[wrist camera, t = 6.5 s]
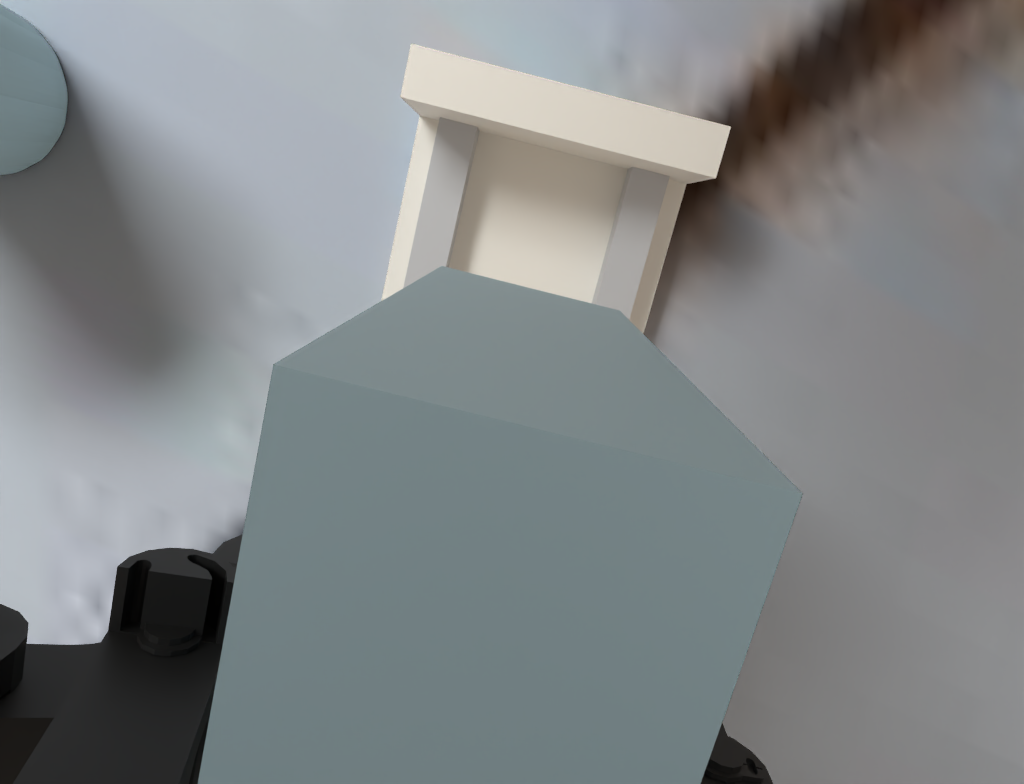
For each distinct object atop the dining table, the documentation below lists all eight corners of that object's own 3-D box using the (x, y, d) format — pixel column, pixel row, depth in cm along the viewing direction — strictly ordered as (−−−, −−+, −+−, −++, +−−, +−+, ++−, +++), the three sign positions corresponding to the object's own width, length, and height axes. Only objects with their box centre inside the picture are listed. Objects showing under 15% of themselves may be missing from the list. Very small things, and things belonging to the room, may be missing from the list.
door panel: (441, 266, 15) (273, 363, 5) (619, 310, 15) (801, 493, 5) (340, 715, 17) (84, 1404, 7) (496, 750, 17) (456, 1475, 7)
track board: (432, 76, 26) (311, -111, 11) (692, 143, 26) (907, 49, 11) (311, 651, 30) (115, 1053, 16) (532, 702, 31) (539, 1140, 16)
